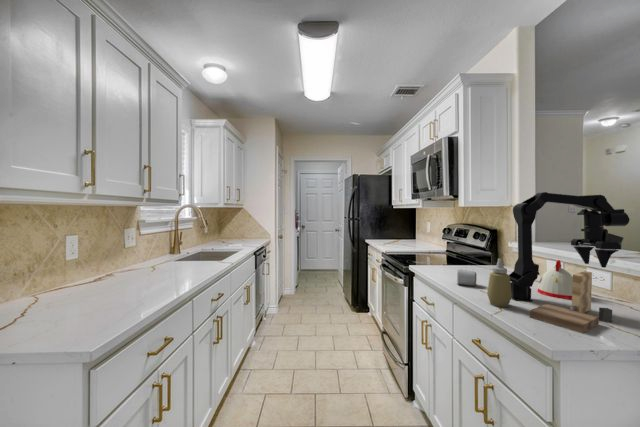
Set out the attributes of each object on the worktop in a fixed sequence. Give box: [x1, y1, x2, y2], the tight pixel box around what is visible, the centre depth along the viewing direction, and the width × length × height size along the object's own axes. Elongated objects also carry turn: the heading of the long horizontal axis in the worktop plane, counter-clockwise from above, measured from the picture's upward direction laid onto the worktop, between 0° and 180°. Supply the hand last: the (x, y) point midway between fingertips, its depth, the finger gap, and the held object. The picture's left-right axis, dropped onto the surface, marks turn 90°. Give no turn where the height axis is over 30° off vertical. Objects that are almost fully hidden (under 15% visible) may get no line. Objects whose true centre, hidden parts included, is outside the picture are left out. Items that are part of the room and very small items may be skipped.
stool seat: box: [529, 303, 600, 334], centre depth 94 cm, size 13×14×2 cm
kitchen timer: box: [537, 259, 573, 300], centre depth 123 cm, size 14×14×15 cm
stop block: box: [598, 307, 613, 323], centre depth 95 cm, size 2×2×4 cm
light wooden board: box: [569, 270, 593, 314], centre depth 101 cm, size 13×2×14 cm, turn 120°
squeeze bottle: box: [486, 258, 512, 308], centre depth 109 cm, size 8×8×18 cm
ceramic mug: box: [456, 268, 478, 287], centre depth 138 cm, size 11×8×8 cm
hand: (594, 265), depth 111 cm, fingers open, 9 cm apart
